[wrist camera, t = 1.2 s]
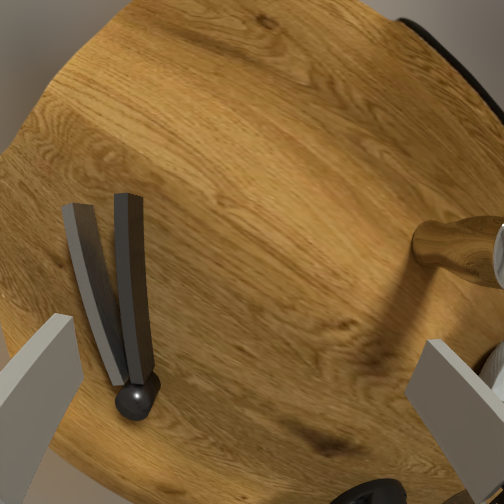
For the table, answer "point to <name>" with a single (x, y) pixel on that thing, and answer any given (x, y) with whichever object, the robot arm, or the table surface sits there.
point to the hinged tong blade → (96, 288)
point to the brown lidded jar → (462, 499)
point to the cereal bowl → (495, 371)
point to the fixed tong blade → (134, 309)
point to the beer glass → (464, 248)
